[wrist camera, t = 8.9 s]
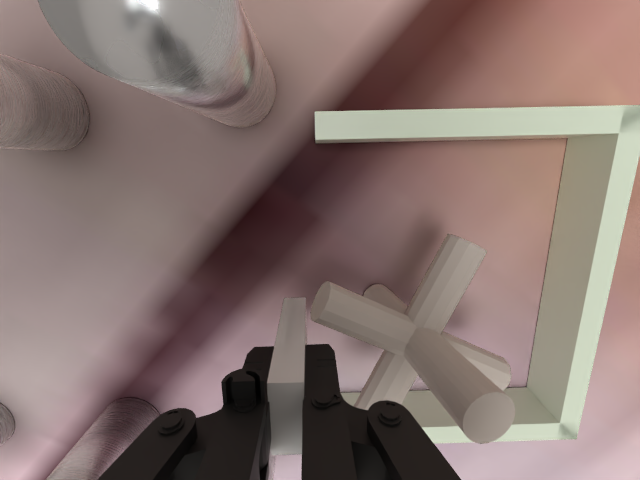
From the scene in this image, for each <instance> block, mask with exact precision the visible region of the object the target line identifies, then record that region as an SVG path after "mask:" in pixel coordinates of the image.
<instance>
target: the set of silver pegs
mask: <svg viewBox="0 0 640 480" xmlns="http://www.w3.org/2000/svg"><path fill="white" fill-rule="evenodd" d="M38 2H39V5H40V7H41V10H42V12H43V14H44V16H45V18H46V20H47V22H48V23H49V25H50V26H51V28H52V29H53V31H54V33H55V34H56V35H57V37H58V38H59V39H60V40H61V42H62V43H63V44H64V45H65V46H66V47H67V48H68V49H69V50H70V51H71V52H72V53H73V54H74V55H75V56H76V57H77V58H79V59H80V60H81V61H82V62H84V63H85V64H87V65H88V66H90V67H91V68H93V69H95V70H96V71H99V72H101V73H103V74H105V75H107V76H109V77H112V78H114V79H117V80H119V81H122V82H124V83H126V84H129V85H131V86H134V87H136V88H138V89H141V90H143V91H146V92H148V93H151V94H153V95H155V96H158V97H160V98H163V99H165V100H168V101H170V102H172V103H175V104H177V105H180V106H182V107H185V108H187V109H189V110H192V111H194V112H197V113H199V114H202V115H204V116H206V117H209V118H211V119H214V120H216V121H218V122H221V123H223V124H226V125H229V126H232V127H240V128H242V127H249V126H252V125H255V124H256V123H258V122H260V121H261V120H262V119H264V118H265V117H266V116H267V114H268V113H269V112H270V110H271V108H272V106H273V103H274V100H275V95H276V82H275V77H274V74H273V71H272V69H271V67H270V65H269V63H268V61H267V58H266V56H265V54H264V52H263V50H262V48H261V46H260V44H259V41H258V39H257V37H256V35H255V33H254V31H253V29H252V27H251V24H250V22H249V20H248V18H247V16H246V14H245V12H244V10H243V7H242V5H241V3H240V1H239V0H38ZM88 126H89V110H88V106H87V104H86V101H85V99H84V97H83V95H82V93H81V92H80V90H79V89H78V88H77V87H76V86H75V85H74V84H73V83H72V82H71V81H70V80H69V79H67V78H66V77H64V76H63V75H61V74H58V73H56V72H53V71H50V70H47V69H44V68H41V67H39V66H36V65H33V64H30V63H27V62H24V61H21V60H18V59H15V58H12V57H9V56H6V55H4V54H1V53H0V148H6V149H30V150H54V151H61V150H67V149H70V148H73V147H74V146H76V145H77V144H79V143H80V142H81V141H82V139H83V138H84V137H85V135H86V133H87V130H88ZM159 415H160V414H159V413H158V411H157V410H156V409H155V408H154V407H153V406H152V405H151V404H149V403H147V402H145V401H143V400H140V399H137V398H122V399H118V400H116V401H114V402H112V403H111V404H110V405H109V406H108V407H107V408H106V409H105V410H104V411H103V413H102V414H101V415H100V416H99V417H98V419H97V420H96V421H95V422H94V423H93V424H92V426H91V427H90V428H89V429H88V430H87V432H86V433H85V434H84V435H83V436H82V438H81V439H80V440H79V441H78V442H77V443H76V445H75V446H74V447H73V448H72V449H71V451H70V452H69V453H68V454H67V455H66V456H65V458H64V459H63V460H62V461H61V462H60V464H59V465H58V466H57V467H56V468H55V469H54V471H53V472H52V473H51V474H50V475H49V477H48V478H47V479H46V480H97V479H98V478H99V477H100V476H101V475H102V474H103V473H104V472H105V471H106V470H107V469H108V468H109V467H110V465H111V464H112V463H113V462H114V461H115V460H116V459H117V458H118V457H119V456H120V455H121V454H122V453H123V452H124V451H125V450H126V449H127V447H128V446H129V445H130V444H131V443H132V442H133V441H134V440H135V439H136V438H137V437H138V436H139V435H140V434H141V433H142V432H143V431H144V430H145V428H146V427H147V426H148V425H149V424H150V423H151V422H152V421H153V420H154V419H156V418H157V417H158V416H159ZM14 428H15V423H14V419H13V417H12V415H11V413H10V412H9V410H8V409H7V408H6V407H5V406H3V405H2V404H1V403H0V446H1V445H2V444H3V443H4V442H6V441H7V440H8V439H9V438H10V437H11V436H12V434H13V432H14ZM275 460H276V455H271V446H270V453H269V478H268V480H273V476H274V468H275Z"/></svg>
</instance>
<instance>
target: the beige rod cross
mask: <svg viewBox="0 0 640 480" xmlns="http://www.w3.org/2000/svg"><path fill="white" fill-rule="evenodd" d="M486 253H487V251H486V250H485V249H483V248H481V247H479V246H477V245H475V244H473V243H471V242H469V241H467V240H465V239H462V238H460V237H458V236H455V235H452V234H447V236H446V238H445V239H444V241H443V243H442V245H441V247H440V249H439V250H438V252H437V254H436V256H435V258H434V260H433V261H432V263H431V265H430V267H429V269H428V271H427V272H426V274H425V276H424V278H423V280H422V282H421V283H420V285H419V287H418V289H417V291H416V293H415V294H414V296H413V298H412V300H411V302H410V304H409V305H408V306H407V305H406V304H405V303H404V302H403V301H401V300H400V299H399V298H398V297H397V296H396V295H395V294H394V293H392V292H391V291H390V290H389V289H388V288H387V287H385V286H384V285H381V284H375V285H372V286H370V287H369V288H368V289H367V290H366V291H365V292H364V295H363V296H361V295H359V294H356V293H354V292H352V291H350V290H347V289H345V288H343V287H340V286H338V285H336V284H334V283H331V282H329V281H326V282H325V283H323V284H322V285H321V287H320V289H319V290H318V292H317V293H316V296H315V298H314V301H313V303H312V308H311V312H310V314H311V320H312V321H314V322H316V323H319V324H321V325H324V326H326V327H329V328H331V329H334V330H336V331H339V332H341V333H344V334H346V335H349V336H351V337H354V338H356V339H359V340H362V341H364V342H367V343H369V344H372V345H374V346H377V347H379V348H382V349H384V351H383V353H382V355H381V357H380V359H379V360H378V362H377V364H376V366H375V368H374V370H373V371H372V373H371V375H370V377H369V379H368V381H367V382H366V384H365V386H364V388H363V390H362V392H361V393H360V395H359V397H358V399H357V401H356V403H355V404H354V407H357V408H360V409H364V410H368V409H369V407H370V406H371V405H372V404H373V403H376V402H378V401H384V400H389V401H394V402H397V403H399V404H402V402H403V401H404V399H405V397H406V395H407V393H408V392H409V390H410V388H411V386H412V385H413V383H414V381H415V379H416V378H417V376H418V375H419V376H420V378H421V379H422V380H423V382H424V383H425V384H426V385H427V387H428V388H429V389H430V391H431V392H432V393H433V394H434V396H435V397H436V398H437V399H438V401H439V402H440V403H441V405H442V406H443V407H444V408H445V410H446V411H447V412H448V414H449V415H450V416H451V417H452V419H453V420H454V421H455V422H456V424H457V425H458V426H459V428H460V429H461V430H462V431H463V433H464V434H465V435H466V436H467V437H468V439H469V440H471V441H473V442H475V443H480V444H482V443H489V442H492V441H495V440H497V439H498V438H500V437H501V436H502V435H504V434H505V433H506V432H507V430H508V429H509V428H510V427H511V425H512V422H513V420H514V416H515V406H514V403H513V401H512V400H511V398H510V397H509V396H508V395H507V394H506V393H504V392H503V390H504V389H505V388H506V387H508V386H509V383H510V379H511V370H510V365H509V364H508V363H507V362H506V360H505V359H504V358H502V357H500V356H498V355H495V354H493V353H491V352H489V351H486V350H484V349H482V348H479V347H477V346H475V345H473V344H470V343H468V342H466V341H463V340H461V339H459V338H457V337H454V336H452V335H450V334H448V333H445V332H443V330H444V328H445V326H446V324H447V322H448V321H449V319H450V317H451V315H452V314H453V312H454V310H455V308H456V307H457V305H458V303H459V301H460V299H461V298H462V296H463V294H464V292H465V291H466V289H467V287H468V285H469V283H470V282H471V280H472V278H473V276H474V275H475V273H476V271H477V269H478V267H479V266H480V264H481V262H482V260H483V259H484V257H485V255H486Z"/></svg>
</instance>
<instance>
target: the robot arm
mask: <svg viewBox="0 0 640 480" xmlns="http://www.w3.org/2000/svg"><path fill="white" fill-rule="evenodd" d="M221 383H222V393H223V404H224V405H223V407H222V409H221V410H219V411H217V412H215V413H212V414H209V415H206V416H202V417H199V418H196V415H195V414H194V413H193V411H191V410H189V409H186V408H177V409H173V410H169V411H167V412H165V413H163V414H161V415H159V416H158V417H157V418H156V419H154V420H153V421H152V422H151V423H150V424H149V425H148V426H147V427H146V428H145V430H144V431H143V432H142V433H141V434H140V435H139V436H138V437H137V438H136V439H135V440H134V441H133V442H132V443H131V444H130V445H129V446H128V447H127V449H126V450H125V451H124V452H123V453H122V454H121V455H120V456H119V457H118V458H117V459H116V460H115V461H114V462H113V463H112V464H111V465H110V467H109V468H108V469H107V470H106V471H105V472H104V473H103V474H102V475H101V476H100V477H99V478H98V479H97V480H268V478H269V453H270V446H271V455H294V454H302V480H461V479H460V478H459V476H458V475H457V474H456V472H455V471H454V470H453V468H452V467H451V466H450V464H449V463H448V462H447V460H446V459H445V458H444V456H443V455H442V454H441V452H440V451H439V450H438V449H437V447H436V446H435V445H434V443H433V442H432V441H431V439H430V438H429V437H428V435H427V434H426V433H425V431H424V430H423V429H422V427H421V426H420V425H419V423H418V422H417V421H416V420H415V418H414V417H413V416H412V414H411V413H410V412H409V411H408V410H407V409H406V408H405V407H404V406H403V405H401V404H399V403H397V402H394V401H389V400H384V401H378V402H376V403H373V404H372V405H371V406H370V407H369V409H368V410H364V409H360V408H357V407H354V406H352V405H350V404H348V403H347V402H346V401H345V400H344V399H343V397H342V395H341V393H340V388H339V381H338V374H337V367H336V360H335V352H334V350H333V349H332V348H331V346H330V345H329V344H316V345H307V327H306V297H304V298H284V301H283V306H282V311H281V316H280V321H279V326H278V331H277V336H276V341H275V345H274V346H272V347H254V348H253V349H252V350H251V351H250V352H249V353H248V354H247V357H246V359H245V363H244V365H243V368H242V369H239V370H236V371H233V372H231V373H230V374H228V375H227V376H225V378H224V379H223V380H222V382H221Z"/></svg>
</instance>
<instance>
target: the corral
mask: <svg viewBox="0 0 640 480" xmlns="http://www.w3.org/2000/svg"><path fill="white" fill-rule="evenodd" d="M546 138H568V139H567V145H566V152H565V158H564V164H563V170H562V176H561V182H560V188H559V194H558V200H557V206H556V212H555V218H554V224H553V230H552V236H551V242H550V248H549V254H548V260H547V266H546V272H545V278H544V284H543V290H542V296H541V302H540V308H539V314H538V320H537V326H536V333H535V339H534V345H533V351H532V357H531V363H530V369H529V375H528V381H527V387H520V388H505V389H504V390H503V392H504V393H506V394H507V395H508V396H509V397H510V398H511V400H512V401H513V403H514V406H515V416H514V420H513V422H512V425H511V427H510V428H509V429H508V430H507V432H506V433H505V434H504V435H502V436H501V437H500V438H498V439H497V440H495V441H492V442H499V441H531V440H563V439H577V434H578V430H579V425H580V421H581V416H582V412H583V408H584V403H585V399H586V394H587V390H588V385H589V381H590V376H591V372H592V367H593V363H594V358H595V354H596V349H597V345H598V340H599V336H600V331H601V327H602V322H603V318H604V313H605V309H606V304H607V300H608V295H609V291H610V286H611V282H612V277H613V273H614V268H615V264H616V259H617V255H618V250H619V246H620V241H621V237H622V232H623V228H624V223H625V219H626V214H627V210H628V205H629V201H630V196H631V192H632V187H633V183H634V178H635V174H636V169H637V165H638V160H639V156H640V105H618V106H568V107H518V108H468V109H419V110H369V111H319V112H315V143H357V142H404V141H452V140H499V139H546ZM360 393H361V392H349V393H341V395H342V397H343V399H344V400H345V401H346V402H347V403H348V404H350V405H352V406H354V404H355V403H356V401H357V399H358V397H359V395H360ZM401 405H403V406H404V407H405V408H406V409H407V410H408V411H409V412H410V413H411V414H412V416H413V417H414V418H415V420H416V421H417V422H418V423H419V425H420V426H421V427H422V429H423V430H424V431H425V433H426V434H427V435H428V437H429V438H430V439H431V441H432V442H433V443H466V442H473V441H471V440H469V439H468V437H467V436H466V435H465V434H464V433H463V431H462V430H461V429H460V428H459V426H458V425H457V424H456V422H455V421H454V420H453V419H452V417H451V416H450V415H449V414H448V412H447V411H446V410H445V408H444V407H443V406H442V405H441V403H440V402H439V401H438V399H437V398H436V397H435V396H434V394H433V393H432V392H431V391H430V390H417V391H409V392H408V393H407V395H406V397H405V399H404V401H403V402H402V404H401Z"/></svg>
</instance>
